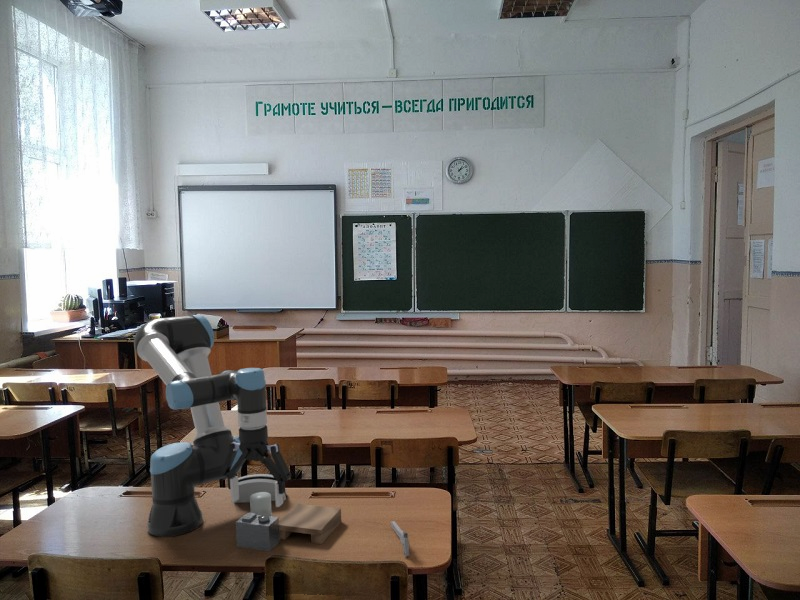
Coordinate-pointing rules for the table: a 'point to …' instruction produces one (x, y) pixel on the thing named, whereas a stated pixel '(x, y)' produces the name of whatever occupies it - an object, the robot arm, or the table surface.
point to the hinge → (256, 486)
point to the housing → (257, 531)
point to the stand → (310, 522)
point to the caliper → (402, 538)
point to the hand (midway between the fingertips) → (257, 502)
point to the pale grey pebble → (261, 503)
